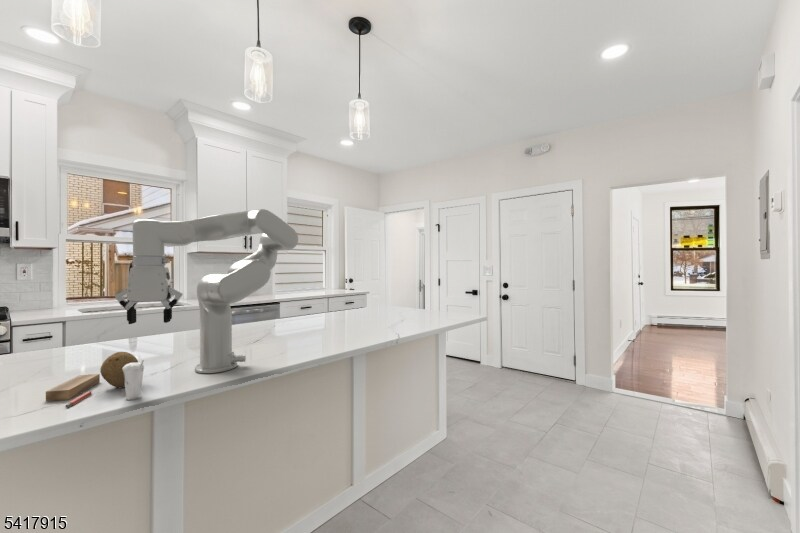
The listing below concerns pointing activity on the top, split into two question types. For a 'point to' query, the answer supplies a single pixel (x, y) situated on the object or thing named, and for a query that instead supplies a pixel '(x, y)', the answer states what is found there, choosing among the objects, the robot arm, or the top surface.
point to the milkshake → (133, 380)
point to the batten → (72, 387)
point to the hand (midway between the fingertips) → (149, 322)
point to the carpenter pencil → (78, 399)
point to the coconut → (116, 368)
